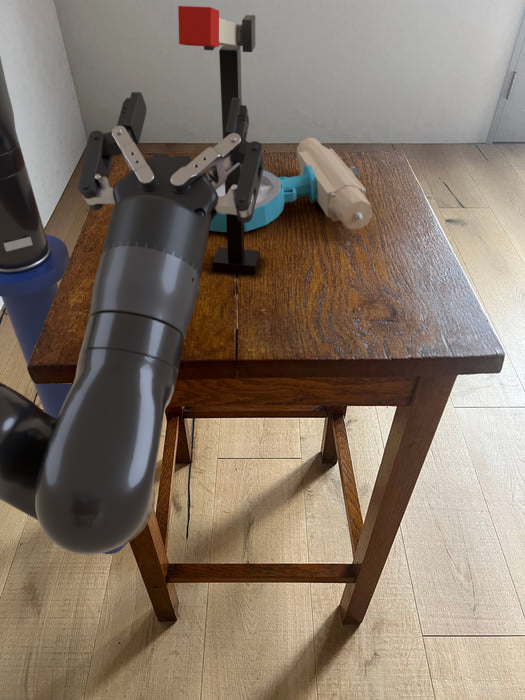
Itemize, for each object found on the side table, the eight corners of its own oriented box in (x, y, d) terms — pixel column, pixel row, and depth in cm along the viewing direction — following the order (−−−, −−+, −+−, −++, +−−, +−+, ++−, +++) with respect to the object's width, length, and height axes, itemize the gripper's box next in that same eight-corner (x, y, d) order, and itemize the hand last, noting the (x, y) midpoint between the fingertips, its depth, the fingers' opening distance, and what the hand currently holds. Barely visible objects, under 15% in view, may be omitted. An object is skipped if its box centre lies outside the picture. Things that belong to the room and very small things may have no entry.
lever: (178, 44, 48) (177, 5, 47) (218, 49, 62) (218, 19, 60) (210, 45, 48) (211, 7, 46) (243, 50, 61) (244, 20, 60)
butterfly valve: (191, 279, 81) (389, 236, 84) (181, 237, 76) (391, 193, 79) (173, 196, 101) (333, 163, 103) (164, 159, 96) (332, 126, 99)
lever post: (212, 271, 78) (196, 19, 58) (218, 256, 81) (205, 11, 61) (255, 275, 77) (254, 22, 57) (259, 259, 80) (260, 13, 60)
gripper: (236, 259, 38) (268, 71, 43) (38, 241, 40) (92, 62, 45) (247, 303, 45) (274, 137, 50) (79, 286, 47) (121, 127, 52)
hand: (188, 102), depth 48 cm, fingers open, 8 cm apart
